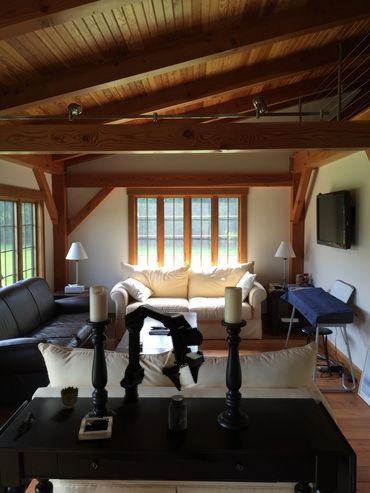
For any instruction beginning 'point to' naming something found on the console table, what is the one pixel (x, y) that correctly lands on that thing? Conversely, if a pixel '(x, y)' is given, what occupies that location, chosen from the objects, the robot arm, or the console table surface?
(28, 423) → the lighter
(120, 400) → the console table surface
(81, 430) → the collar
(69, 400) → the potted succulent
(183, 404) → the supplement bottle
